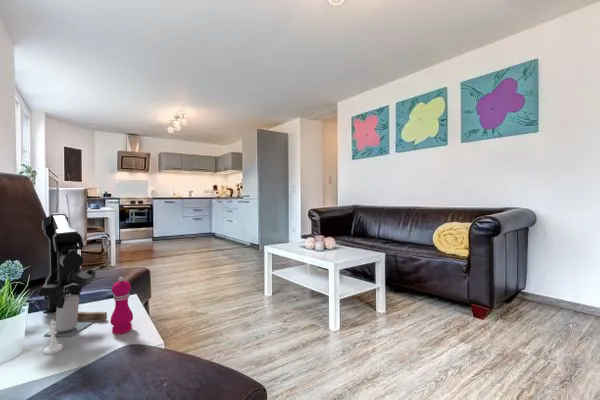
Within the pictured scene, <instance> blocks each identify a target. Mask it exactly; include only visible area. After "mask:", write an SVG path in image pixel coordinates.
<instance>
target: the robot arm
mask: <svg viewBox="0 0 600 400" xmlns="http://www.w3.org/2000/svg"><path fill="white" fill-rule="evenodd" d="M41 229H42V231H43V234H44V235H45V237H46V238H47V239H48V249H49V250H48V252H49V257H48V258H49V273H48V276H47V277H46V279H45V280H44V281H45V283H44V284H43V286H42V287H40V288H39V289H38V297H42V298H43V300H45V304H46V305H45V308H46V310H43V311H42V313H49V314H50V313H51V314H55V313H56V311H57V307H58V309H59V308H63V305H64V297H65V295H78V297H79V298H80V296H81V293H82V291H83V289H84V288H85V287H86V286H87V285H90V284H92V282H93V281H94V280H95V279H96V270H95V269H93V268H91V269H89V270H84V271H83V270H82V265H83V263H84V259H83V256H82V255H81V254H79V252H78V251H79V250H83V247H84V241H83V237H82V235H81V234H80V233H79V232H78V230H77V229H76V228H74V227H73V228H72V227H71V226H70V222H69V216H67V214H66V213H64V212H58V213H57V212H55V213H50V214H49V216H46V217H43V219H42V221H41Z"/></svg>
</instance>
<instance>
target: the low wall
mask: <svg viewBox="0 0 600 400" xmlns="http://www.w3.org/2000/svg"><path fill="white" fill-rule="evenodd" d="M106 319H108V312H107V311H78V317H77V322H105V321H107V320H106ZM55 320H56V313H54V321H55ZM104 320H105V321H104Z"/></svg>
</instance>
